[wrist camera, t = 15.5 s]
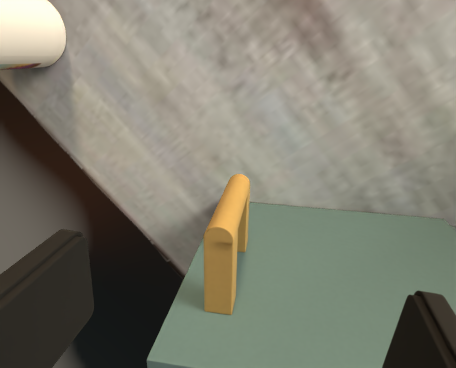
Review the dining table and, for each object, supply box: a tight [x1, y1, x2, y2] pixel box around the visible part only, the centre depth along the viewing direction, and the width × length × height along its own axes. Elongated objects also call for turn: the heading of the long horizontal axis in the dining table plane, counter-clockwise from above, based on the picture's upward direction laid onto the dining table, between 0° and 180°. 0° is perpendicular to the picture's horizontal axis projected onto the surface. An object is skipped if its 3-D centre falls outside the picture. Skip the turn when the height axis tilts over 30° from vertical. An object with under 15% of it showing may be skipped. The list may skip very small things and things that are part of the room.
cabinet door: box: [147, 174, 456, 368], centre depth 28 cm, size 8×26×24 cm, turn 90°
